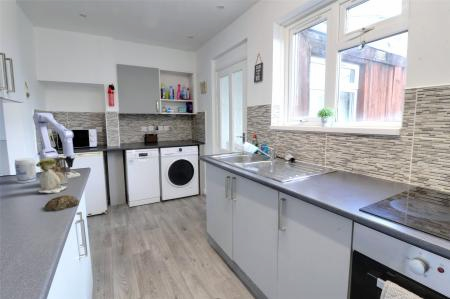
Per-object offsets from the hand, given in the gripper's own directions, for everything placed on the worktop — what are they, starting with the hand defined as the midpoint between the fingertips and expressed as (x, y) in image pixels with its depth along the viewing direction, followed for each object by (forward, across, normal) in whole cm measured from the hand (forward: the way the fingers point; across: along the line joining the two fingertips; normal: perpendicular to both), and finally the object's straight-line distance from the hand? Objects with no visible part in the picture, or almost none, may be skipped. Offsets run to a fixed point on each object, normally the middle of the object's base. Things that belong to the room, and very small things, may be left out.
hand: (70, 167), depth 158 cm
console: (+6, +2, +3) cm, 7 cm away
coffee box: (+6, -17, +12) cm, 22 cm away
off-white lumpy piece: (+6, -30, +18) cm, 36 cm away
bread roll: (+6, -60, +23) cm, 65 cm away
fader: (+4, +6, 0) cm, 7 cm away
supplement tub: (+6, +6, +22) cm, 24 cm away
